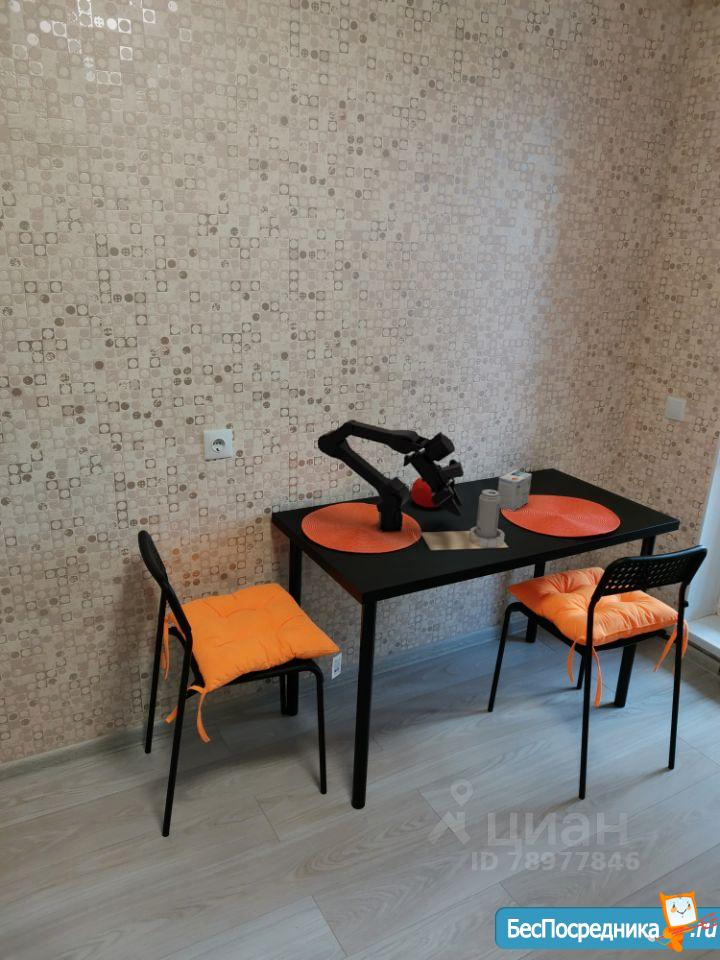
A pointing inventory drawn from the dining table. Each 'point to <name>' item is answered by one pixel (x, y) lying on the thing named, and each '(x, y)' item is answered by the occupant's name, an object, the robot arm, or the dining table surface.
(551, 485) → the dining table surface
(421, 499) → the tomato
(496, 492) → the energy drink can
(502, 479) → the light bulb box
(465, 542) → the plate
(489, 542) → the ring clip
